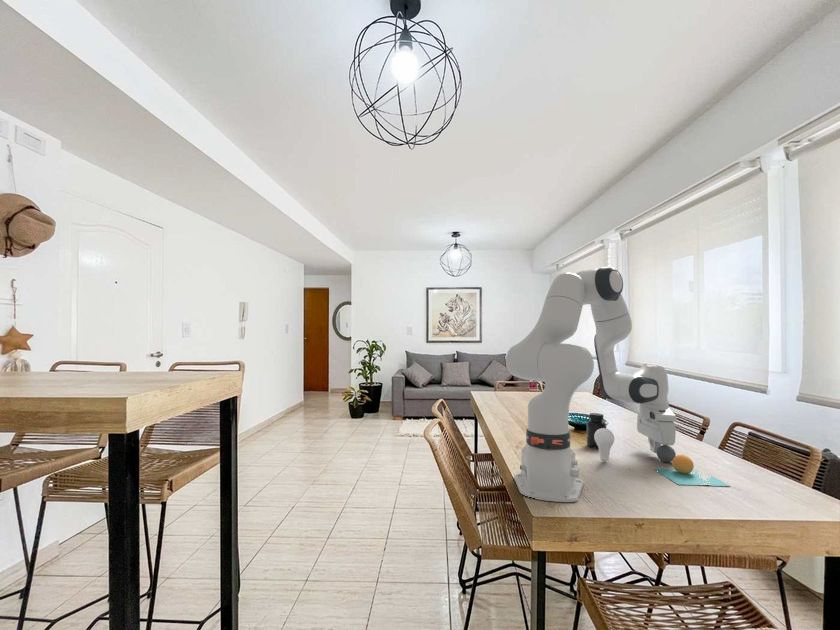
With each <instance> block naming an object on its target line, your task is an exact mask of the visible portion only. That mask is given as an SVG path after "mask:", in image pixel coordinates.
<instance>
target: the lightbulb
mask: <svg viewBox="0 0 840 630" xmlns="http://www.w3.org/2000/svg"><path fill="white" fill-rule="evenodd" d="M594 439H595V441H596V443H597V445H598V448H599V449H598V448H597V449H598V453H599V456H600V457H599V459H600V461H602V462H603V463H607V462H609V460H610V453H611V448H612V446H613V445H614V443H615V435H614V433H613V432H612V430H610V429H608V428H607V427H606V428H601V429H598V430H597V431H596V432H595V434H594Z"/></svg>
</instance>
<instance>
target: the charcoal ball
mask: <svg viewBox="0 0 840 630" xmlns="http://www.w3.org/2000/svg"><path fill="white" fill-rule="evenodd" d="M655 454H656V456H657V458H658V459H659V460H660V461H661V462H663V463H672V461H673V459H674V457H676V456H677V455H676V454H677V453H676V451H675V450H674V448H673V447H672V446H671V445H662V444H661V446H659V447H658V449H657V452H656V453H655Z"/></svg>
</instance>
